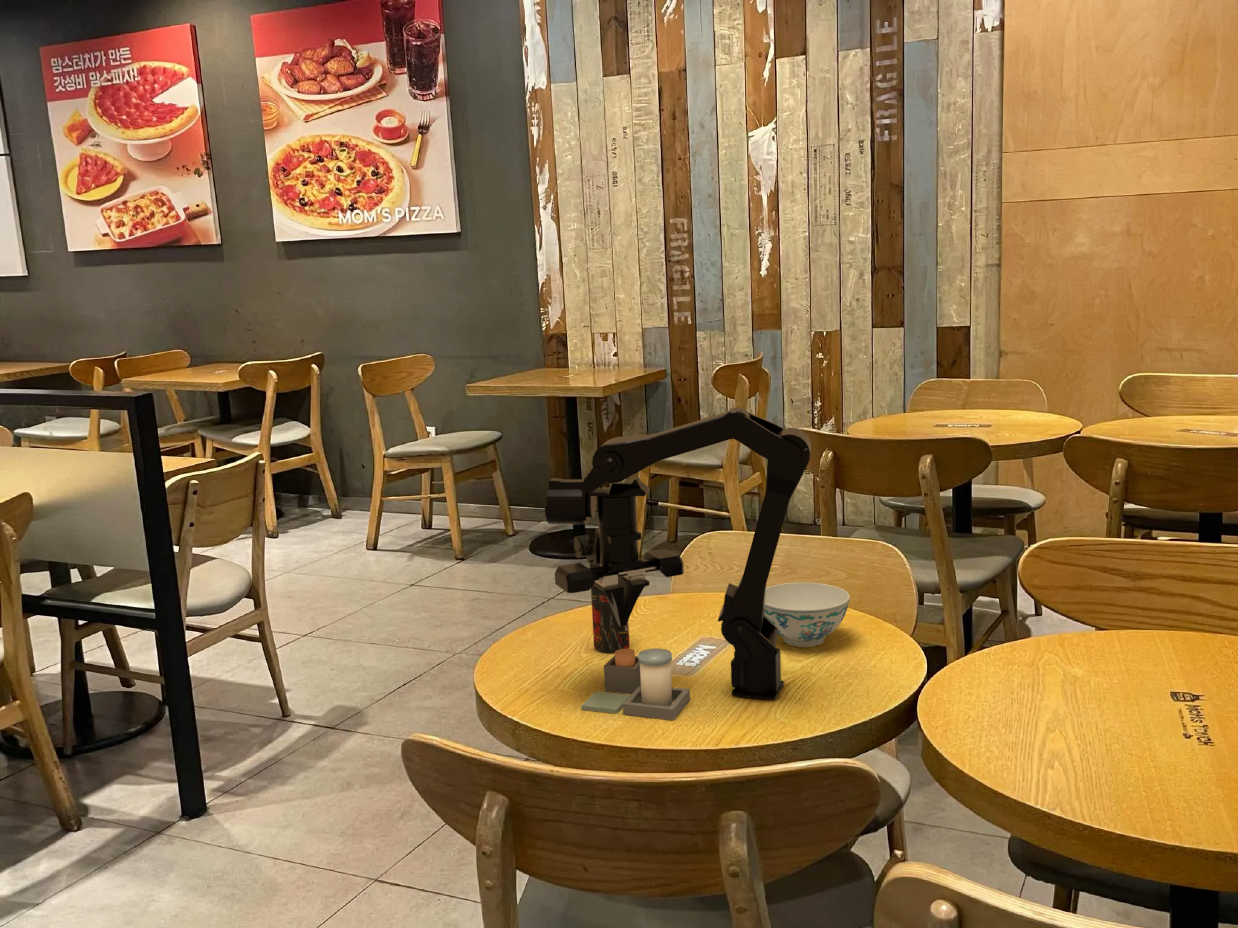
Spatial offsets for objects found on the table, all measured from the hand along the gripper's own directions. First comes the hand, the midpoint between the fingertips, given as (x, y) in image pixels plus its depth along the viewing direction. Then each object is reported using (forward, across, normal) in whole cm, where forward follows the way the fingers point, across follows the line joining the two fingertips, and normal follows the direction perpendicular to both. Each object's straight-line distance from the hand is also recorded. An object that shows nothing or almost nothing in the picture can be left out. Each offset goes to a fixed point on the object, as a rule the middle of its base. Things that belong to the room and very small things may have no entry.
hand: (622, 625), depth 165 cm
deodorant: (+10, -5, -17) cm, 20 cm away
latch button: (+8, 0, 0) cm, 8 cm away
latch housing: (+10, 0, 0) cm, 10 cm away
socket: (+10, -1, +9) cm, 13 cm away
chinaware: (+10, -34, -3) cm, 36 cm away
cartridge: (+10, -1, +9) cm, 13 cm away
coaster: (+10, +5, +5) cm, 12 cm away
